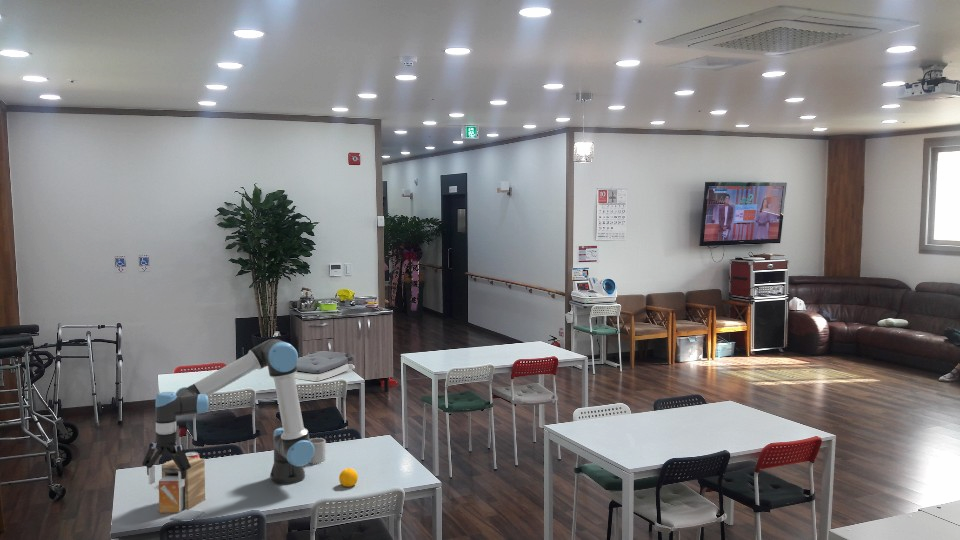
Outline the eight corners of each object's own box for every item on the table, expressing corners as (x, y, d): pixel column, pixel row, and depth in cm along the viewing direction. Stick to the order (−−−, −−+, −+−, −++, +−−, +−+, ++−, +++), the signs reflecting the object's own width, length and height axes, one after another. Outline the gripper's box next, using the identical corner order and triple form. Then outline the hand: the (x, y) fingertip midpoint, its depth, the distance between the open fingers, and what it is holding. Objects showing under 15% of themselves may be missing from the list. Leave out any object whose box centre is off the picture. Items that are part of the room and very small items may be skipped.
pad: (204, 513, 293) (204, 511, 293) (190, 522, 285) (190, 520, 285) (185, 510, 296) (184, 509, 296) (170, 519, 287) (170, 518, 287)
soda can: (194, 483, 327) (193, 456, 326) (179, 482, 328) (179, 455, 327) (203, 478, 334) (202, 451, 333) (189, 477, 335) (188, 450, 334)
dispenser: (205, 499, 308) (204, 458, 306) (187, 510, 296) (186, 467, 295) (180, 497, 311) (179, 456, 309) (161, 507, 299) (160, 465, 298)
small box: (158, 513, 293) (158, 480, 292) (164, 507, 299) (164, 475, 299) (179, 512, 294) (179, 480, 293) (185, 506, 300) (184, 475, 299)
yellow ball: (351, 481, 331) (350, 464, 330) (361, 485, 325) (361, 468, 325) (335, 485, 325) (335, 468, 325) (346, 490, 319) (345, 472, 319)
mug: (327, 462, 356) (327, 441, 355) (309, 465, 352) (309, 444, 352) (321, 455, 367) (320, 435, 366) (303, 457, 363) (303, 437, 363)
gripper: (199, 432, 293) (200, 485, 294) (145, 426, 299) (146, 478, 300) (187, 437, 285) (188, 491, 286) (132, 431, 292) (132, 485, 293)
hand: (166, 485), depth 293 cm, fingers open, 13 cm apart
